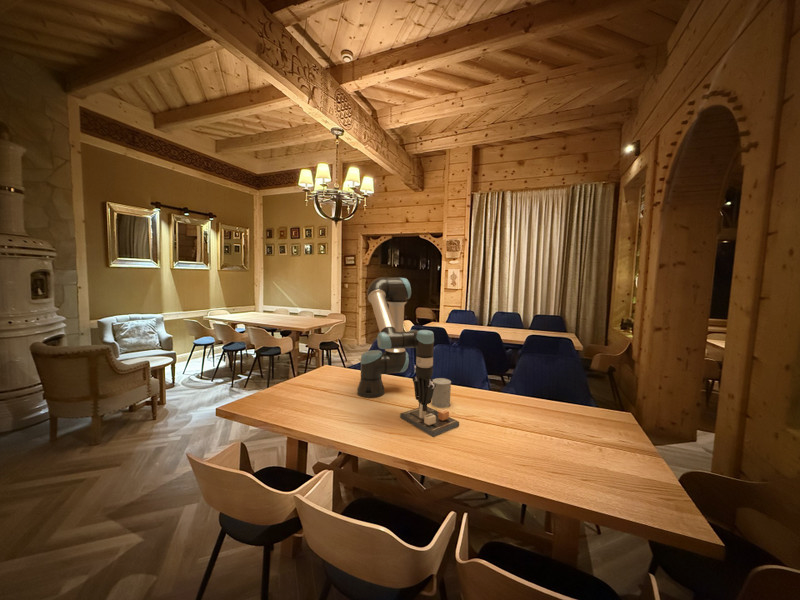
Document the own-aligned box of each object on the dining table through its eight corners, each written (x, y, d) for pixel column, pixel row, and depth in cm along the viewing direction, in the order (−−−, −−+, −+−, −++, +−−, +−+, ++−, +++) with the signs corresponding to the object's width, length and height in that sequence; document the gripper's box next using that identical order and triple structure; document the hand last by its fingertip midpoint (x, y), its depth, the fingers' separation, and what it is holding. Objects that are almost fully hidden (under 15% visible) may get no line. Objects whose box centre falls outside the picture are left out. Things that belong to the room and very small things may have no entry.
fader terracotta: (437, 418, 145) (437, 410, 144) (443, 415, 147) (444, 408, 147) (442, 420, 142) (442, 413, 142) (448, 418, 145) (449, 410, 145)
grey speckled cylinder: (449, 401, 171) (450, 378, 170) (450, 408, 162) (451, 384, 161) (431, 400, 172) (432, 377, 171) (431, 407, 162) (432, 383, 161)
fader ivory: (424, 422, 140) (424, 414, 140) (430, 420, 142) (431, 412, 142) (428, 425, 138) (429, 417, 137) (435, 422, 140) (435, 415, 140)
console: (400, 417, 150) (400, 413, 150) (425, 409, 160) (425, 405, 160) (433, 436, 133) (433, 432, 133) (459, 426, 143) (459, 421, 143)
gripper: (408, 363, 145) (406, 413, 147) (428, 370, 134) (426, 425, 137) (420, 360, 149) (419, 409, 151) (440, 367, 139) (438, 420, 141)
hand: (422, 417), depth 144 cm, fingers closed
